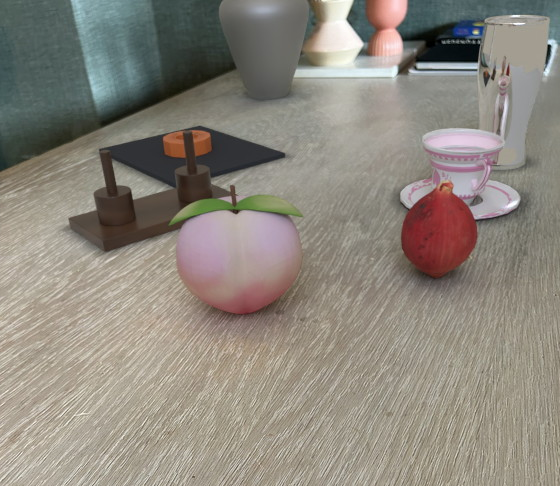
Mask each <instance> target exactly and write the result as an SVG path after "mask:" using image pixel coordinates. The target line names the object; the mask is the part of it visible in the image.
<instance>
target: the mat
mask: <svg viewBox="0 0 560 486" xmlns="http://www.w3.org/2000/svg"><path fill="white" fill-rule="evenodd" d="M189 130H197V131H205V132H208V133H210V137H211V147H212V150H211V151H210V152H208V153H207V154H204V155H200V156H196V165H205V166H207V167H209V168H210V176H211V179H212V178H216V177H219V176H223V175H227V174H230V173H234V172H238V171H240V170H245V169H248V168H249V169H250V168H252V167H256V166H259V165H262V164H267V163H270V162H273V161H276V160H281V159H284V158H286V153H285V152H283V151H280V150H277V149H273V148H271V147H267V146H264V145H262V144H258V143H255V142H252V141H249V140H246V139H244V138H239V137H237V136H234V135H230V134H228V133H223V132H221V131H219V130H215V129H212V128H209V127H207V126H203V125H196V126H191V127H187V128H184V129H178V130H174V131H170V132H166V133H161V134H158V135H153V136H148V137H145V138H140V139H135V140H132V141H127V142H123V143H118V144H114V145H110V146H106V147H102V148H101V147H100V148H99V149H98V152H100V151H102V150H110V153H111V158H112V160H114V161H116V162H118V163H120V164H122V165H124V166H126V167H129V168H131V169H133V170H135V171H137V172H140V173H142V174H144V175H146V176H147V177H150V178H153V179H155V180H157V181H159V182H161V183H164V184H165V185H168V186H169V187H173V188H177V186H176V179H175V170H176V169H178V168H180V167H183V166H187V164H186V158H179V157H170V156H168V155H165V150H164V143H163V137H164V136H166V135H168V134H170V133H175V132H179V131H189Z"/></svg>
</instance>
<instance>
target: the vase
mask: <svg viewBox="0 0 560 486" xmlns="http://www.w3.org/2000/svg"><path fill="white" fill-rule="evenodd" d="M309 17H310V3H309V1H308V0H222V1H221V3H220V4H219V7H218V18H219V22H220V25H221V28H222V32H223V35H224V37H225V41H226V44H227V47H228V49H229V52H230V54H231V57H232V60H233V63H234V65H235V68H236V70H237V73H238V75H239V78H240V79H241V82H242V84H243V86H244V88H245V90H246V92H247V95H248V97H249V98H250V99H252V100H259V101H268V100H269V101H270V100H278V99H283V98H286V97H287V96H288V95H289V93H290V89H291V86H292V83H293V80H294V77H295V75H296V71H297V68H298V64H299V61H300V56H301V53H302V48H303V44H304V39H305V35H306V32H307V27H308V23H309Z"/></svg>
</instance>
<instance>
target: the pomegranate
mask: <svg viewBox="0 0 560 486" xmlns="http://www.w3.org/2000/svg"><path fill="white" fill-rule="evenodd" d="M453 187H454V185H453V183H452V182H451V181H450V180H444V181H442V182H441V183H439V184H438V186H437V187H436V188H435V189H434V190H433V191H431V192H430V193H428V194H427V195H425V196H424V197H422V198H421V199H419V200H418V201H417V202H416V203H415V204H414V205H413V206H412V207H411V208H410V209H409V210H408V211H407V212H406V214H405V216H404V219H403V221H402V225H401V232H400V245H401V246H400V247H401V249H402V250H401V251H402V252H403V254H404V256H405V258H406V259H407V260H408V261H409V263H411V264H412V265H413V266H414V267H415V268H417V270H419V271H421V272H422V273H425V274H426V275H428V276H429V277H431V278H433V279H439V278H442V277H444V276H445V275H446V274H448V273H449V272H451V271H452V270H454V269H456V268H458V267H459V266H460V265H462V264H463V263H465V262H466V261H467V260H468V258H469V257H470V255H471V254H472V253H473V251H474V249H475V248H476V245H477V240H478V237H479V236H478V225H477V222H476V219H474V216H473V214H472V212H471V210H470V208H469V207H470V206H469V205H467V204H466V203H465V202H464V201H463V200H462V199H460V198H459V197H458V196H456V195H455V194H454V193H452V189H453Z"/></svg>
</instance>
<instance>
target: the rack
mask: <svg viewBox="0 0 560 486" xmlns="http://www.w3.org/2000/svg"><path fill="white" fill-rule="evenodd" d="M183 141H184V149H185V157H186V164H187V166H183V167H180V168H178V169H176V170H175V179H176V186H177V188H174V187H173V188H171V189H167V190H163V191H159V192H156V193H152V194H149V195H145V196H142V197H138V198H133V197H134V196H133V192H132V188H131V187H130V186H127V185H123V184H117V180H116V174H115V171H114V170H115V169H114V164H113V159H112V158H111V153H110V150H102V151H100V152H99V151H98V152H99V153H98V154H99V159H100V163H101V169H102V174H103V179H104V184H105V186H104V187H100V188H98V189H96V190H94V192H93V193H92V194H93V199H94V204H95V209H94V210H91V211H89V212H85V213H80V214H78V215H73V216H69V217H68V219H67V220H68V223H69V229H70V230H72V231H73V232H75V233H76V234H77V235H79V236H81V237H82V238H84V239H85V240H86V241H88V242H89V243H91V244H92V245H94V246H95V247H97V248H98V249H100V250H101V251H103V252H104V253H108V252H110V251H111V252H112V251H113V250H117V249H120V248H123V247H126V246H130V245H133V244H136V243H139V242H142V241H145V240H146V241H147V240H149V239H152V238H156V237H158V236H161V235H164V234H168V233H170V232H174V231H176V230H181V227H182V225H183V224H184V222H185V221H186V219H187V218H186V219H184V220H181V221H179V222H177V223H175V224H173V225H170V226H169V224H170V222H171V220H172V219H173V218H174V217H175V216H176V215H177V214H178V213H179V212H180V211H181V210H182V209H183V208H185V207H186V206H188V205H189V204H191V203H193V202H196V201H199V200H203V199H218V198H222V197H228V196H231V191H229V190H227V189H225V188H222V187H220V186H218V185H216V184H213V183H212V178H211V176H210V168H209V167H207V166H205V165H196V157H195V148H194V140H193V132H192V131H184V132H183ZM235 194H236V193H235ZM236 196H240V195H239V194H236Z"/></svg>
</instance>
